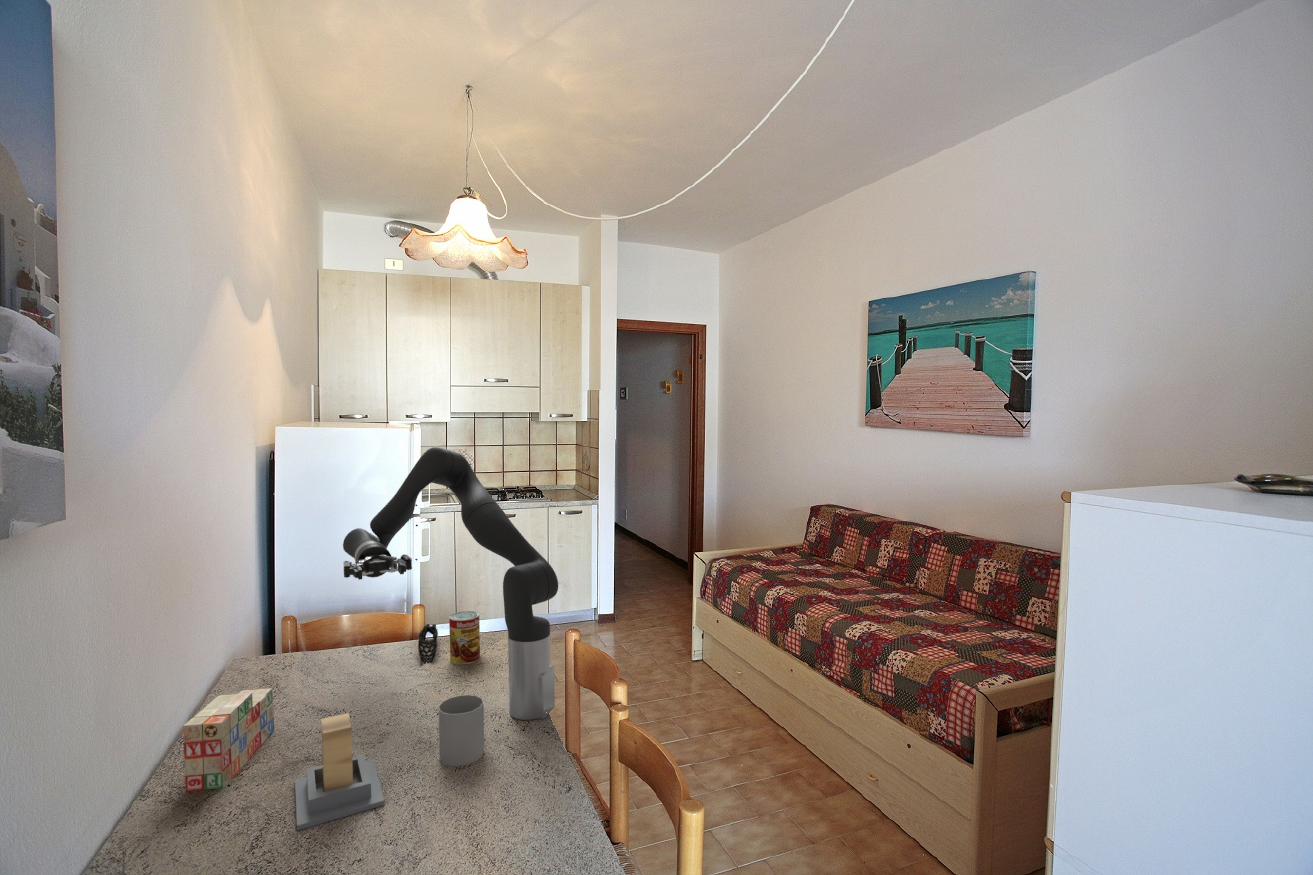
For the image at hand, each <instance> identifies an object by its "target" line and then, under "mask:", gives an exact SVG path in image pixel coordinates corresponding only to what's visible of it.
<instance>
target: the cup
mask: <svg viewBox="0 0 1313 875" xmlns="http://www.w3.org/2000/svg"><path fill="white" fill-rule="evenodd" d="M484 710H485V708H484V700H483V697H482V698H481V697H479V696H478V695H475V694H474V695H473V694H462V695H456V696H453V697H449V698H447V699H445V700H444V701H441V703H440V704H439V705H438V742H439V743H438V745H439V746H438V747H439V761H440V762H441V763H442V764H443V765H445V766H451V767H460V766H467V765H470V764H472V763H475V762H476V761H478V760H480V759H481V758H482V757H483V755H484V754H485V733H484V732H485V726H484V725H485V722H484V720H485V718H484V717H485V716H484V714H485V712H484Z"/></svg>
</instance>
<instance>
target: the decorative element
mask: <svg viewBox="0 0 1313 875" xmlns="http://www.w3.org/2000/svg"><path fill="white" fill-rule="evenodd" d="M428 633H429V634H431V635H432V639H431V640H430V641H428V640H426V636H427V634H428ZM438 637H439V632H438V629H437V625H436V624H434V623H433V624H432V625H431V626H430V624H428V623H427V624H426V625H424V626H423V628H422V630H420V632H419V633H418V640H417V642H418V644H417V649H418V655H419V659H420V661H421V663H423V664H424V665H425V664H430V663H433V661H434V660H435V657H436V653H437V646H438V639H437V638H438ZM425 649H428V650H425ZM426 662H427V663H426ZM429 662H430V663H429Z"/></svg>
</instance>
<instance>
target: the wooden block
mask: <svg viewBox="0 0 1313 875" xmlns="http://www.w3.org/2000/svg"><path fill="white" fill-rule="evenodd" d="M320 720H321V721H320V722H321V759H322V760H321V762H322V764H321V765H323V790H324V792H327V791H331V790H335V789H338V788H342V787H346V786H349V785H353V764H352V757H353V733H352V732H353V731H352V730H353V729H352V722H351V718H350V712H348V713H347V712H346V713H341V714H338V715H333V716H329V717H324V718H321V719H320Z"/></svg>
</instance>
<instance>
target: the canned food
mask: <svg viewBox="0 0 1313 875" xmlns="http://www.w3.org/2000/svg"><path fill="white" fill-rule="evenodd" d="M448 617H449V618H448V620H449V622H448V623H449V661H450V663H451V664H454V665H460V664H461V665H470V664H474V663H475V662H478V661H479V660H480V658H481V641H480V640H481V639H480V638H481V637H480V636H481V634H480V632H481V631H480V629H481V628H480V613H479V612H477V611H473V610H469V611H468V610H465V611H458V612H455V613H452V614H451V615H449V616H448Z"/></svg>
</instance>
